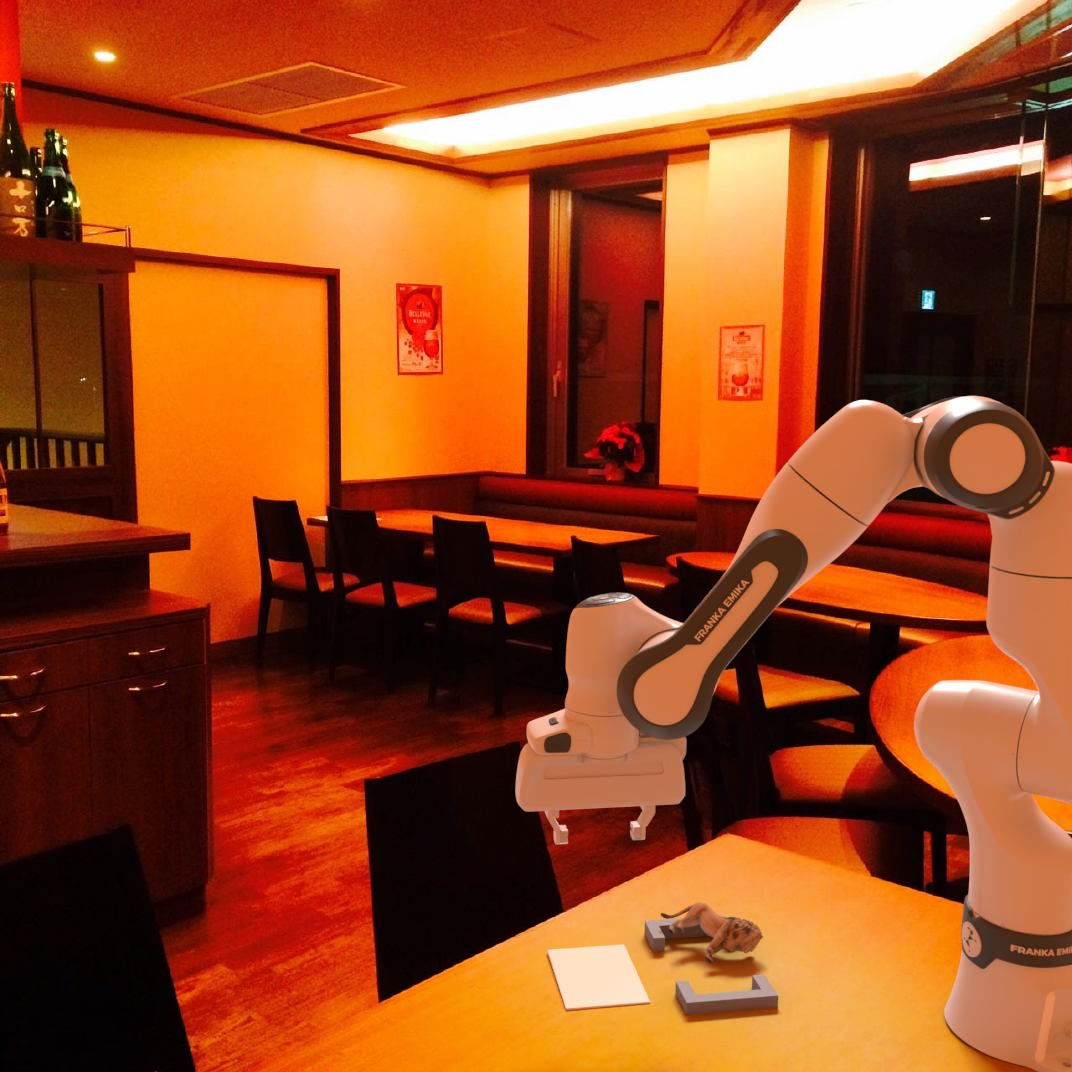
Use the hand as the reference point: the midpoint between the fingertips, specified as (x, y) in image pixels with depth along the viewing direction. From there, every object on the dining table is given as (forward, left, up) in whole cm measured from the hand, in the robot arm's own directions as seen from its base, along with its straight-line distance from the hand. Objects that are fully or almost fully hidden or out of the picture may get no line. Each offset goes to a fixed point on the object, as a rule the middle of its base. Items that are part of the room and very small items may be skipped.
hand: (599, 840), depth 128 cm
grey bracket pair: (-14, 0, -18) cm, 23 cm away
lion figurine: (-13, -3, -16) cm, 21 cm away
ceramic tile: (0, 0, -18) cm, 18 cm away
